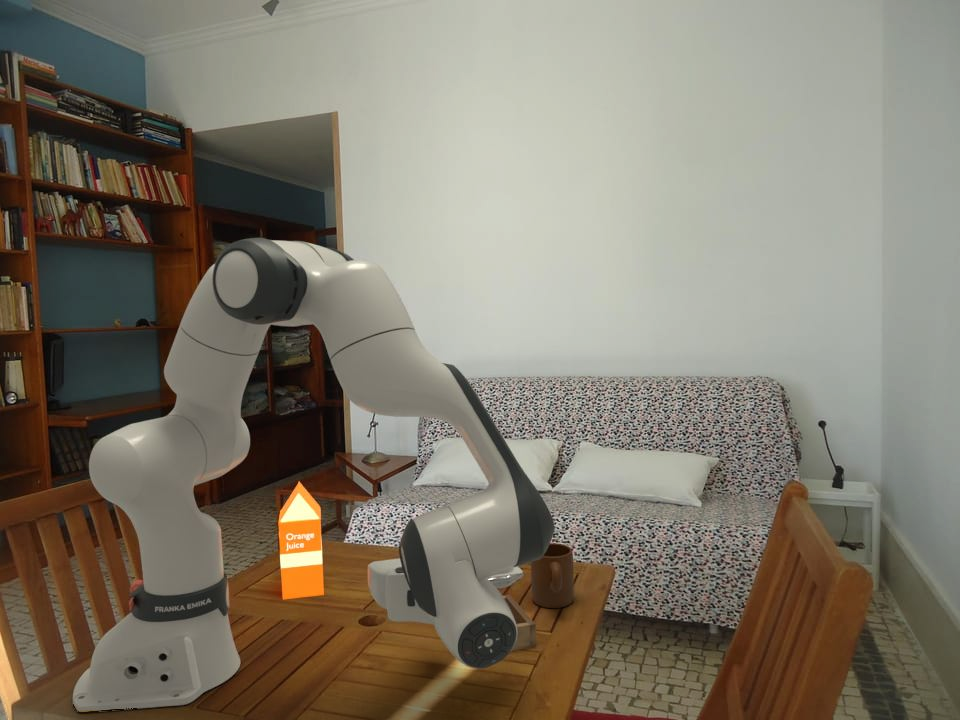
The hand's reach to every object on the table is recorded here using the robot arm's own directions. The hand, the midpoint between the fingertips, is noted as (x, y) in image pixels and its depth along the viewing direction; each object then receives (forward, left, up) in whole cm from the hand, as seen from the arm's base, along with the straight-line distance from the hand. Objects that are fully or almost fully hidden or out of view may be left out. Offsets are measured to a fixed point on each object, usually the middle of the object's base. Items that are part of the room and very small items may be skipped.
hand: (430, 553), depth 108 cm
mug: (+25, +13, -17) cm, 33 cm away
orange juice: (-17, +37, -17) cm, 44 cm away
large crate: (+11, +6, -17) cm, 21 cm away
